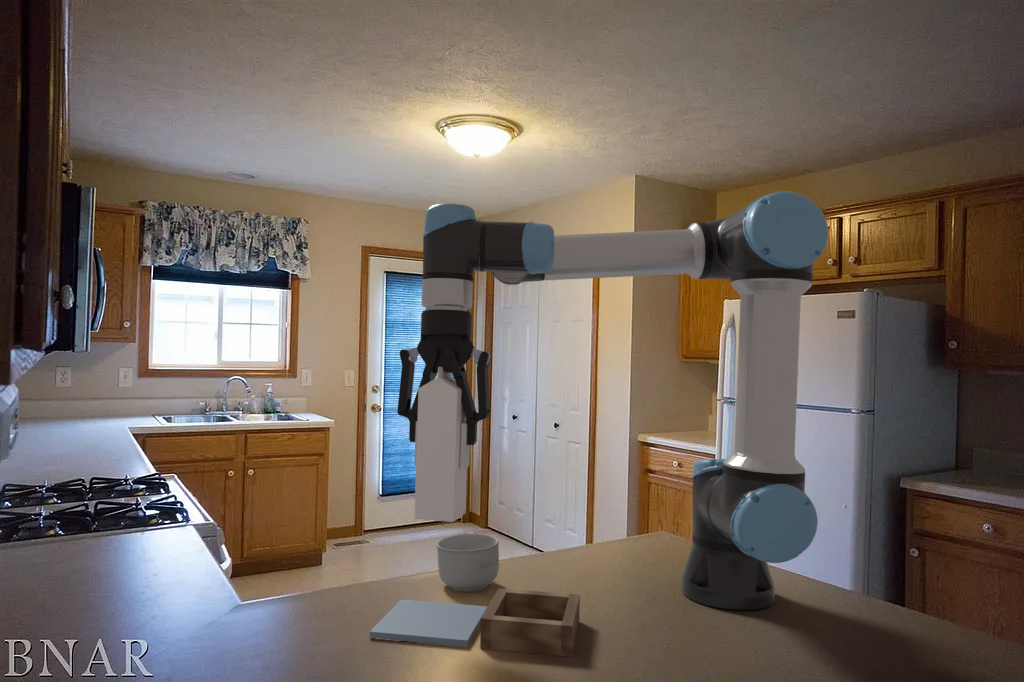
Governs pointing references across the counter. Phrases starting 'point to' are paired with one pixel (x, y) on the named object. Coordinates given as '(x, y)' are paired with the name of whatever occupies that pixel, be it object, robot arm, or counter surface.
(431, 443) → the milk
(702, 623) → the counter surface
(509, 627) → the frame
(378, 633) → the board
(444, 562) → the teacup
